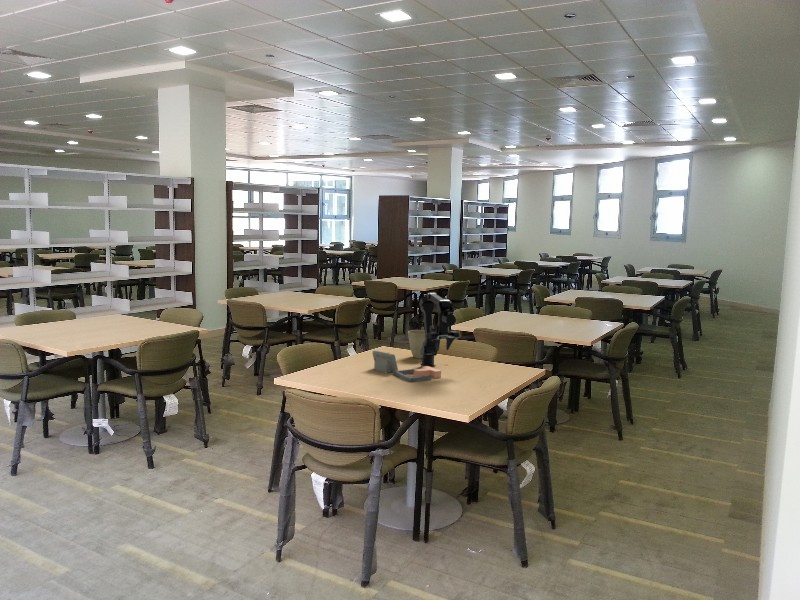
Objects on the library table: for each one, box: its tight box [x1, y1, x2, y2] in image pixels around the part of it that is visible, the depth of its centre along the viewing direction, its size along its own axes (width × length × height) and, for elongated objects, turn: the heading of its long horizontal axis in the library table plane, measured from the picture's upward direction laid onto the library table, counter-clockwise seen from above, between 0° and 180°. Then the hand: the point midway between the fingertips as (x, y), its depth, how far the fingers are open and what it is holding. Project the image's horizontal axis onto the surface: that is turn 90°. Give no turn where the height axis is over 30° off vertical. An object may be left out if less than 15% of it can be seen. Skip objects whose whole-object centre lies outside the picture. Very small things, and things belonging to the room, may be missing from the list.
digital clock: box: [372, 350, 399, 374], centre depth 356 cm, size 16×9×11 cm, turn 39°
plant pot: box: [407, 329, 425, 359], centre depth 393 cm, size 15×15×16 cm
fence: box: [392, 368, 432, 383], centre depth 342 cm, size 13×18×2 cm
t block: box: [413, 366, 442, 379], centre depth 346 cm, size 12×13×4 cm
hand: (442, 350), depth 351 cm, fingers open, 6 cm apart
